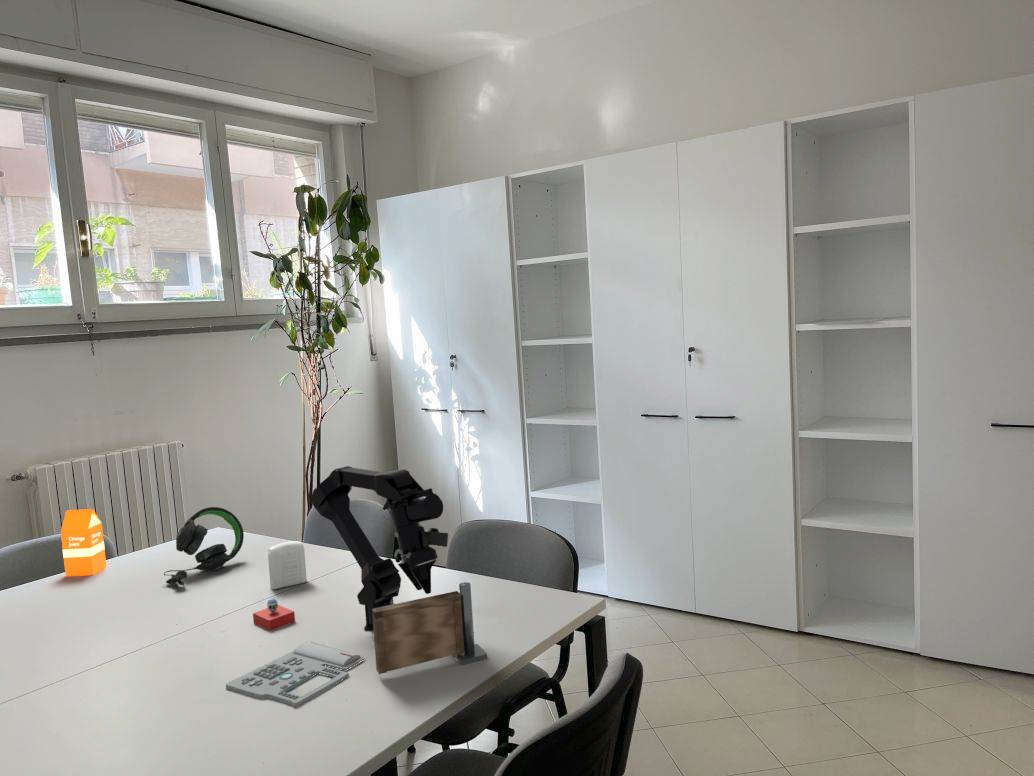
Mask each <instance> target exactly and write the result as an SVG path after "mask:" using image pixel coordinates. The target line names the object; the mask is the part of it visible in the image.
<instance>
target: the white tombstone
mask: <svg viewBox="0 0 1034 776" xmlns="http://www.w3.org/2000/svg"><path fill="white" fill-rule="evenodd" d="M267 552H268V553H267V560H268V561H267V562H268V573H269V585H270V589H271V590H278V589H281V588H286V587H291V586H294V585H295V586H296V585H299V584H300V585H301V584H303V583H306V582H307V578H308V577H307V568H306V567H307V565H306V554H305V553H306V552H305V547H304V543H303V542H302V541H297V540H296V541H295V540H294V541H293V540H291V541H289V540H288V541H283V542H280V543H277V544H274V545H272V546H270V548H268V551H267Z"/></svg>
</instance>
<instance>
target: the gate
mask: <svg viewBox="0 0 1034 776" xmlns="http://www.w3.org/2000/svg"><path fill="white" fill-rule="evenodd" d="M372 617H373V630H372V631H373V639H374V640H373V641H374V655H375V666H376V667H375V668H376V672H377V673H378V675H382V674H386V673H388V672H392V671H395V670H399V669H403V668H407V667H411V666H416V665H419V664H424V663H428V662H431V661H435V660H439V659H444V658H448V657H452V656H453V655H456V654H457V655H459V654H463V653H464V639H463V624H462V609H461V594H460V591H458V590H455V591H451V592H446V593H439V594H435V595H431V596H428V597H423V598H417V599H411V600H408V601H404V602H398V603H393V605H388V606H383V607H379V608H374V609H372Z"/></svg>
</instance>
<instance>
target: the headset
mask: <svg viewBox="0 0 1034 776" xmlns="http://www.w3.org/2000/svg"><path fill="white" fill-rule="evenodd" d="M207 515H214V516H217V517H220V518H222V519H223V520H224V521H225V522H226V523H228V524H229V525H230V527H232V530H233V532H234V538H235V539H234V546H233V547H232V549H231V552H230V553H229V554H227V553H226V552H227V551H228V549H227V546H226V545H225V544H224V543H217V544H214V545H211V546H209V547H206V548H204V549H202V550H200V551H199V552H198V553H197V551H198V550H199V549H200V547H201V545H202V544H203V541H204V539H205V536H207V534H208V528H206V527H205V526H203V525H200V524H197V525H196V523H195V520H196V519H198V518H200V517H203V516H207ZM244 536H245V535H244V529H243V525H242V524H241V521H240V520H239V519H238V517H237V516H236V515H235V514H233V512H231V511H230V510H227V509H225V508H223V507H219V506H209V507H205V508H202V509H200V510H199V511H197V512H195V513H194V514H193V515H192V516H191V517H190V518H188V519H187V520H186V522H185V523H184V525H183V527H182V528H180V530H179V531H178V533H177V535H176V537H175V540H176V541H175V545H176V546H175V547H176V551H178V552H180V553H182V552H183V553H185V554H186V555H189V556H193V555H194V554H195V556H194V559H195V561H196V563H197V564H198V565H196V566H195V567H192V568H188V569H187V568H186V569H181V570H180V569H177V570H176V569H175V570H174V569H172V570H166V571H165V572H164V573H163V575H164V576H168V574H166V573H170V572H176V573H175V574H169V576H171V577H170V578H168V579H167V580H166V584H168V585H170V586H175V585H176V583H178V584H179V585H180V586H183V587H184V586H185V582H184V581H183V580H185V579H187V577H188V574H187V573H188V571H192V570H199V571H209V572H212V571H215V570H217V569H220V568H222V567H223V566H225V564H226V563H227V562H229V561H231V560H233V559H234V558H235V557H236V556H237V554H238V553H239V552H240V550H241V548H242V546H243V543H244V538H245V537H244ZM196 553H197V554H196Z"/></svg>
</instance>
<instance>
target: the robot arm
mask: <svg viewBox="0 0 1034 776" xmlns="http://www.w3.org/2000/svg"><path fill="white" fill-rule="evenodd" d="M352 488H360V489H365V490H371V491H373V492H375V493H376V495H377V496H379V497H382V498H384V499H386V502H385V503H384V504H383V507H382V510H383V511H386V510H389V511H390V516H391V520H392V522H393V523H392V524H393V528H394V530H395V531H394V532H393V534H394V537H395V538H397V543H398V546H399V547H398V549H396V550H395V552H394V554H393V556H394V560H395V563H397V565H398V566H399V568H400V570H402V573H404V574H405V575H406V577H407V579H408V580H409V581H410V582H411V584H412V585H413V587H414V588H415V589H416V590H417V591H420V590H423V592H424V593H425V594H426V595H429V594H431V593H432V578H431V577H432V568H433V566H434V564H435V563H436V562H437V558H438V554H437V551H436V549H435V548H433V547H432V546H438V547H443V548H444V547H445V548H446V547H447V548H448V541H449V533H448V532H440V531H439V529H438V528H436V527H429V529H428V530H427V531H425V528H424V526H422V525H420V523H421V522H426V521H431V520H435V519H438V518H440V517H441V516H442V514H443V511H444V503H443V500H442V499H441V497H440V496H439V495H438V494H437V493H434V492H433V488H431V487H430V488H427V489H424V488H423V487H422V486H421V485H420V484H419V483H418V482H417V481H416V479H415V478H414V477H413V476H412V475H411V474H410V471H408V470H407V469H395V470H390V471H389V470H388V471H377V470H370V469H363V468H357V467H352V466H350V465H346V466H343V467H338V468H335V469H333V470H332V471H331V472H330V474H329V475H328V476H327V477H326V478H325V479H323V480H322V482H320V483H319V484H318V485H317V486H316V487H315V488H314V490H313V491H312V494H311V496H310V502H311V504H312V506H313V508H314V509H315V510H316V511H317V512H318V513H319V515H320V516H321V517H323V518H325V519H327V520H328V521H330V522H332V523H333V525H334V527H335V528H336V530H337V532H338V533H339V536H341V538H342V540H343V541H344V543H345V545H346V546H347V548H348V550H349V551H350V553H351V555H352V556H353V558H354V559H355V561H356V562H357V564H358V566H359V568H360V569H361V576H360V577H361V579H360V580H361V584H362V585H363V587H362V589H361V590H360V591H359V592H358V594H357V595H356V597H357V600H358V604H359V605H362V606H364V611H365V612H364V613H365V626H364V628H363V629H364V631H368V630H369V631H370V630H371V631H374V630H373V617H372V609H374V608H379V607H383V606H388V605H393V604H394V598H396V597H399V594H400V593H399V592H400V588H401V583H402V577H401V575H400V573H399V572H400V570H399V569H398V568H397V567H396V566H395V563H394V561H393V560H392V559H391V558H389V557H388V558H386V559H383V558H381V557H380V556H379V555H378V553H377V552H376V549H375V548H374V547H373V544H372V543H371V542H370V541H369V538H368V537H367V536H366V534H365V532H364V531H363V529H362V527H361V526H360V524H359V522H357V520H356V517H355V516H354V515H353V513H352V511H351V505H350V504H351V498H350V497H349V494H350V492H351V491H352V490H353V489H352Z"/></svg>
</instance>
